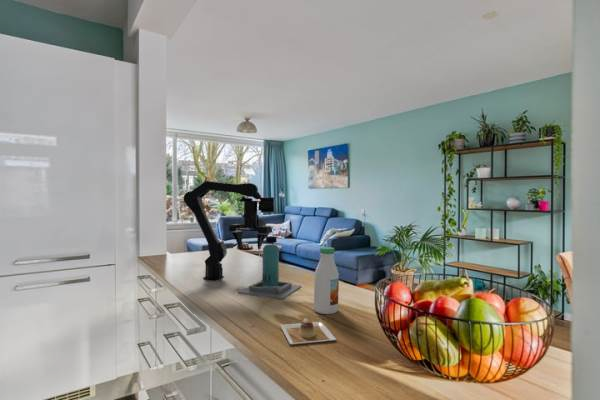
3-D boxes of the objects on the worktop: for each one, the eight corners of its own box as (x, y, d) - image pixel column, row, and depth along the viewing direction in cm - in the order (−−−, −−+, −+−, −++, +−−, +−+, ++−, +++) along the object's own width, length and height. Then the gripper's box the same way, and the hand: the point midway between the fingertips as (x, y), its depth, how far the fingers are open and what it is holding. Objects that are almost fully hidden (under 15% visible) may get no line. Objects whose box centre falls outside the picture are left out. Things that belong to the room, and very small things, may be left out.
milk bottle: (321, 316, 100) (323, 250, 100) (309, 308, 107) (310, 246, 107) (342, 312, 103) (344, 248, 103) (329, 305, 110) (331, 245, 110)
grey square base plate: (237, 292, 122) (237, 287, 122) (261, 281, 138) (261, 276, 138) (282, 299, 115) (282, 293, 115) (301, 287, 132) (301, 281, 132)
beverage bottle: (279, 286, 130) (280, 235, 130) (278, 291, 124) (279, 237, 123) (262, 285, 130) (263, 235, 130) (260, 290, 123) (261, 237, 123)
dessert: (336, 343, 83) (337, 324, 82) (289, 348, 79) (290, 328, 79) (321, 325, 94) (321, 308, 94) (279, 328, 91) (280, 311, 91)
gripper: (278, 212, 147) (277, 247, 147) (241, 211, 153) (241, 244, 154) (266, 213, 136) (265, 251, 136) (228, 212, 143) (227, 248, 143)
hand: (249, 248), depth 143 cm, fingers open, 9 cm apart
